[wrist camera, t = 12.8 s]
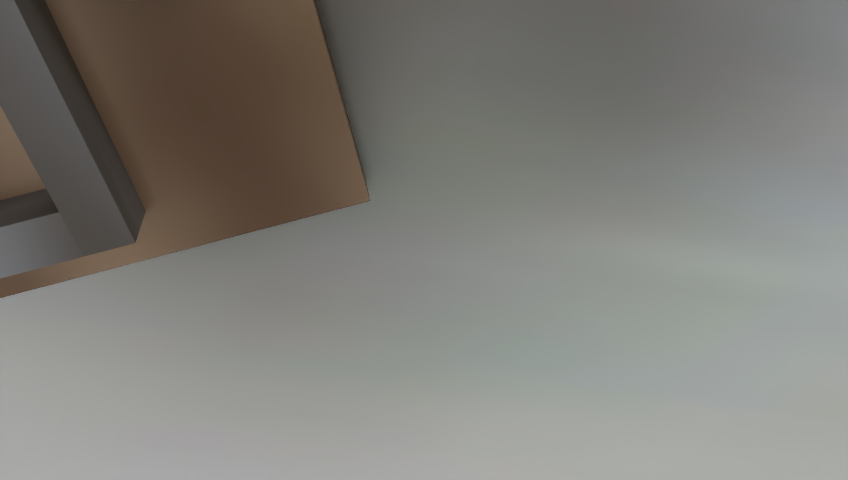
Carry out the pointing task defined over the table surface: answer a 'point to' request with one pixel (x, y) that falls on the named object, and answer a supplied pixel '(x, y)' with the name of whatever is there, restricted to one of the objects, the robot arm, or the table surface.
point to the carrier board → (161, 130)
